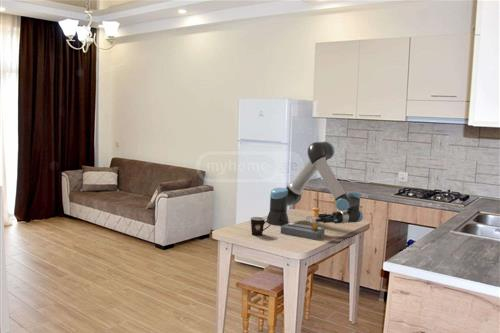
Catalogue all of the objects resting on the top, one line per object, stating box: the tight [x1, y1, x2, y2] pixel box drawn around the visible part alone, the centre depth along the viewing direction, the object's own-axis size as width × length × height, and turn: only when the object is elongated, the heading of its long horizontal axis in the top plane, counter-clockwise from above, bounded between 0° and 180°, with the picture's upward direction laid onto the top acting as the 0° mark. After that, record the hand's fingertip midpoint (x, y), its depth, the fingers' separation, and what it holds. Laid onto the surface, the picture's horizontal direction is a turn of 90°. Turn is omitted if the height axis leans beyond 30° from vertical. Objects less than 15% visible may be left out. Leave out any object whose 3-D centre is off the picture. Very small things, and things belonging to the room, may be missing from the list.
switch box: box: [280, 222, 326, 241], centre depth 278 cm, size 24×14×4 cm, turn 62°
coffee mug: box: [250, 216, 271, 237], centre depth 271 cm, size 12×9×10 cm
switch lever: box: [311, 207, 321, 231], centre depth 273 cm, size 4×4×16 cm
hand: (308, 219), depth 271 cm, fingers open, 6 cm apart
